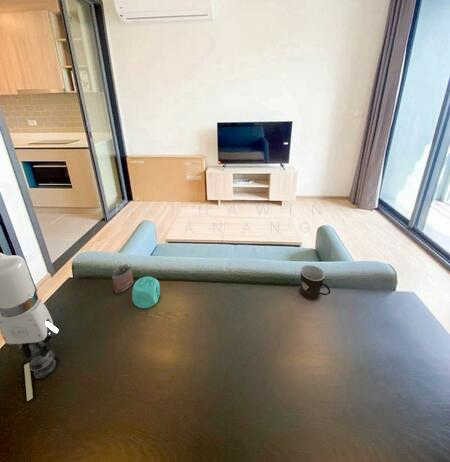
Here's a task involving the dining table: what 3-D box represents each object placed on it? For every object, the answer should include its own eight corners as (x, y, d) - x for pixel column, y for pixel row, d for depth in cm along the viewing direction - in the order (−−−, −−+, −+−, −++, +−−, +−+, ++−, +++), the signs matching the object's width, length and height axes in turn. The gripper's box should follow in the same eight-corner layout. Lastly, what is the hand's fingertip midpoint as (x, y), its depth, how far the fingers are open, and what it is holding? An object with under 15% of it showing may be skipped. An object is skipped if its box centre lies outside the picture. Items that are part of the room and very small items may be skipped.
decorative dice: (155, 308, 90) (152, 291, 87) (133, 308, 90) (130, 291, 87) (160, 292, 97) (158, 276, 94) (140, 292, 97) (138, 276, 95)
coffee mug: (294, 286, 99) (297, 266, 96) (315, 284, 100) (318, 264, 97) (307, 309, 88) (310, 287, 85) (329, 307, 89) (333, 285, 86)
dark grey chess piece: (54, 354, 74) (44, 325, 70) (59, 368, 70) (48, 338, 66) (31, 368, 70) (18, 338, 66) (34, 384, 67) (21, 353, 62)
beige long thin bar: (24, 365, 71) (24, 365, 71) (29, 362, 72) (29, 362, 72) (27, 401, 63) (27, 401, 63) (32, 397, 63) (32, 397, 63)
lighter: (130, 279, 104) (127, 260, 101) (135, 282, 102) (132, 263, 99) (113, 291, 98) (108, 271, 95) (118, 294, 96) (113, 274, 93)
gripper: (-30, 317, 58) (-3, 369, 64) (44, 312, 59) (62, 363, 65) (-5, 293, 65) (17, 342, 71) (61, 289, 66) (76, 337, 72)
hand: (39, 352), depth 68 cm, fingers closed on dark grey chess piece, 3 cm apart
